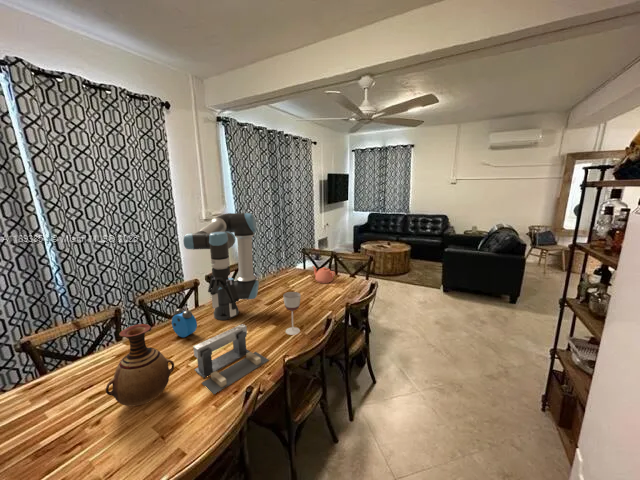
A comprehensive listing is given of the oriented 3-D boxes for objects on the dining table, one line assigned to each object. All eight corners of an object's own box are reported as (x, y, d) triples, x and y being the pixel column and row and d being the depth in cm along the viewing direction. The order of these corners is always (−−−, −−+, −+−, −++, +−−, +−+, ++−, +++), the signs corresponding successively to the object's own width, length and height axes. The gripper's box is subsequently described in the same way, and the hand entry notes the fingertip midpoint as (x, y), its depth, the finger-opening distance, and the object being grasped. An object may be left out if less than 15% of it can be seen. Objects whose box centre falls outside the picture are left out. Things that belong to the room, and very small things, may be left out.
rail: (198, 358, 117) (197, 349, 116) (194, 355, 119) (193, 346, 118) (247, 334, 136) (246, 326, 135) (242, 331, 138) (242, 323, 137)
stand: (194, 370, 123) (192, 348, 120) (240, 346, 141) (239, 326, 139) (203, 378, 118) (201, 355, 115) (249, 352, 136) (248, 331, 134)
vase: (105, 427, 94) (90, 350, 88) (119, 391, 111) (107, 323, 105) (174, 407, 103) (165, 335, 97) (178, 376, 119) (170, 313, 113)
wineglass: (298, 336, 151) (298, 298, 146) (282, 334, 153) (281, 297, 148) (302, 327, 159) (302, 292, 155) (287, 326, 161) (286, 291, 156)
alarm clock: (198, 334, 152) (195, 310, 149) (189, 340, 146) (186, 314, 143) (181, 329, 157) (179, 305, 154) (172, 335, 152) (169, 310, 149)
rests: (211, 378, 117) (210, 373, 117) (250, 356, 133) (250, 351, 132) (221, 387, 112) (220, 382, 112) (261, 362, 128) (260, 357, 127)
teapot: (308, 281, 234) (307, 267, 231) (316, 276, 246) (316, 263, 244) (330, 286, 223) (331, 271, 220) (338, 280, 236) (339, 266, 233)
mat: (201, 383, 115) (201, 382, 115) (255, 352, 136) (255, 351, 136) (214, 395, 109) (214, 394, 109) (268, 360, 130) (268, 359, 130)
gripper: (197, 264, 125) (201, 307, 130) (230, 274, 111) (233, 322, 115) (212, 260, 131) (215, 301, 136) (245, 270, 117) (248, 316, 121)
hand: (224, 311), depth 125 cm, fingers open, 13 cm apart
